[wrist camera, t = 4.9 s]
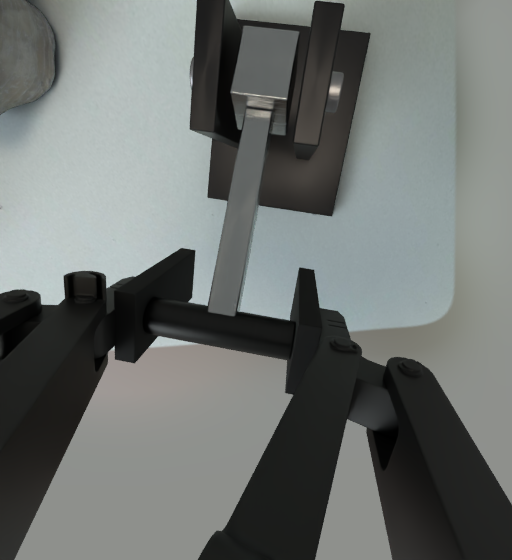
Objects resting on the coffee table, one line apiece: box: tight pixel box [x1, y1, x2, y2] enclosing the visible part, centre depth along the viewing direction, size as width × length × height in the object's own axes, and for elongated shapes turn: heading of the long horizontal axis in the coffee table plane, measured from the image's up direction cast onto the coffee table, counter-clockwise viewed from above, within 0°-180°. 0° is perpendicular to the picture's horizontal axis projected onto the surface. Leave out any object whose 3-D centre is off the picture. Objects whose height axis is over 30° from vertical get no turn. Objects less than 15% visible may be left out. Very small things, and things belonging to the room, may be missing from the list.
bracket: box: [190, 0, 370, 216], centre depth 18 cm, size 12×10×14 cm
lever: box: [143, 26, 300, 360], centre depth 13 cm, size 12×6×2 cm, turn 172°
